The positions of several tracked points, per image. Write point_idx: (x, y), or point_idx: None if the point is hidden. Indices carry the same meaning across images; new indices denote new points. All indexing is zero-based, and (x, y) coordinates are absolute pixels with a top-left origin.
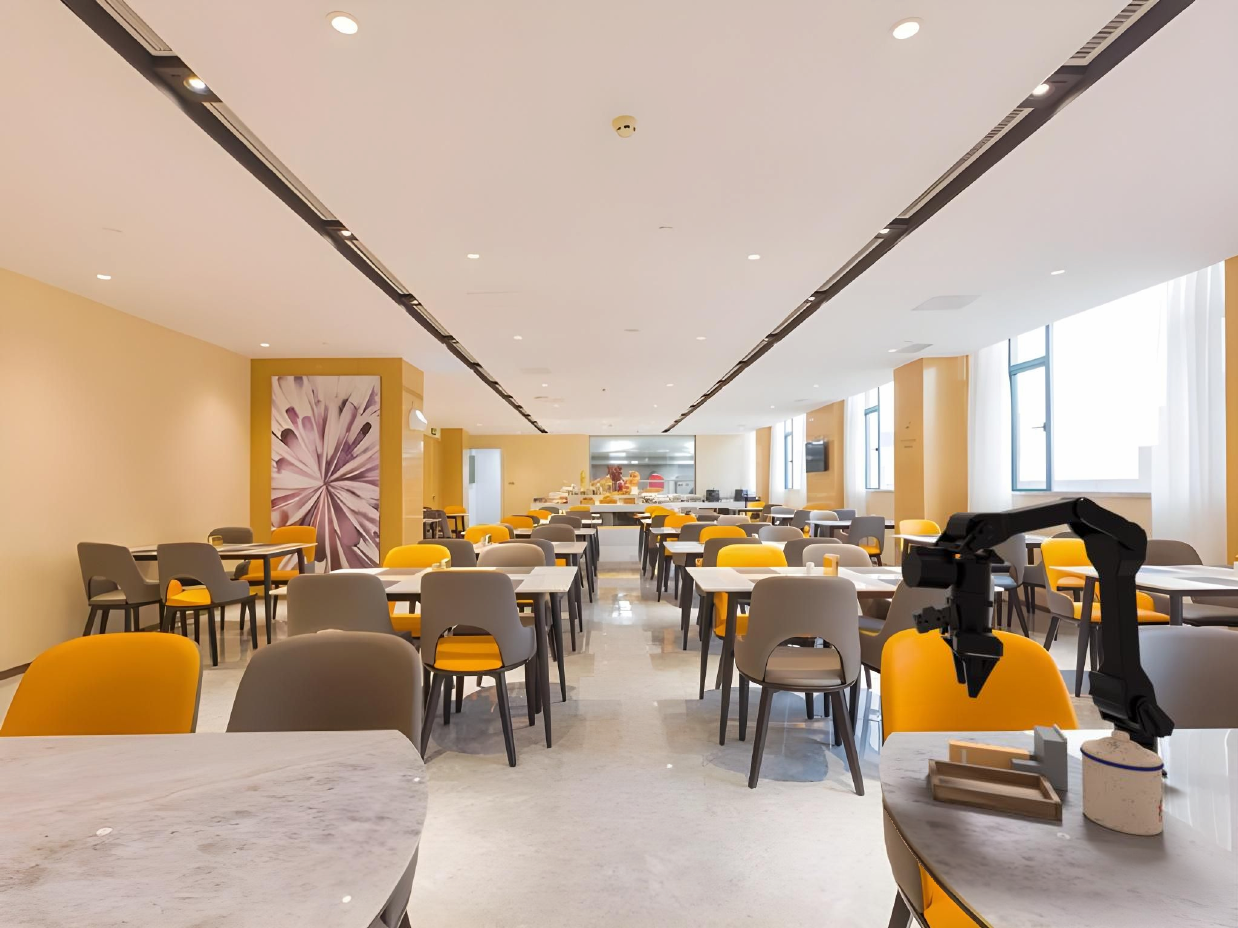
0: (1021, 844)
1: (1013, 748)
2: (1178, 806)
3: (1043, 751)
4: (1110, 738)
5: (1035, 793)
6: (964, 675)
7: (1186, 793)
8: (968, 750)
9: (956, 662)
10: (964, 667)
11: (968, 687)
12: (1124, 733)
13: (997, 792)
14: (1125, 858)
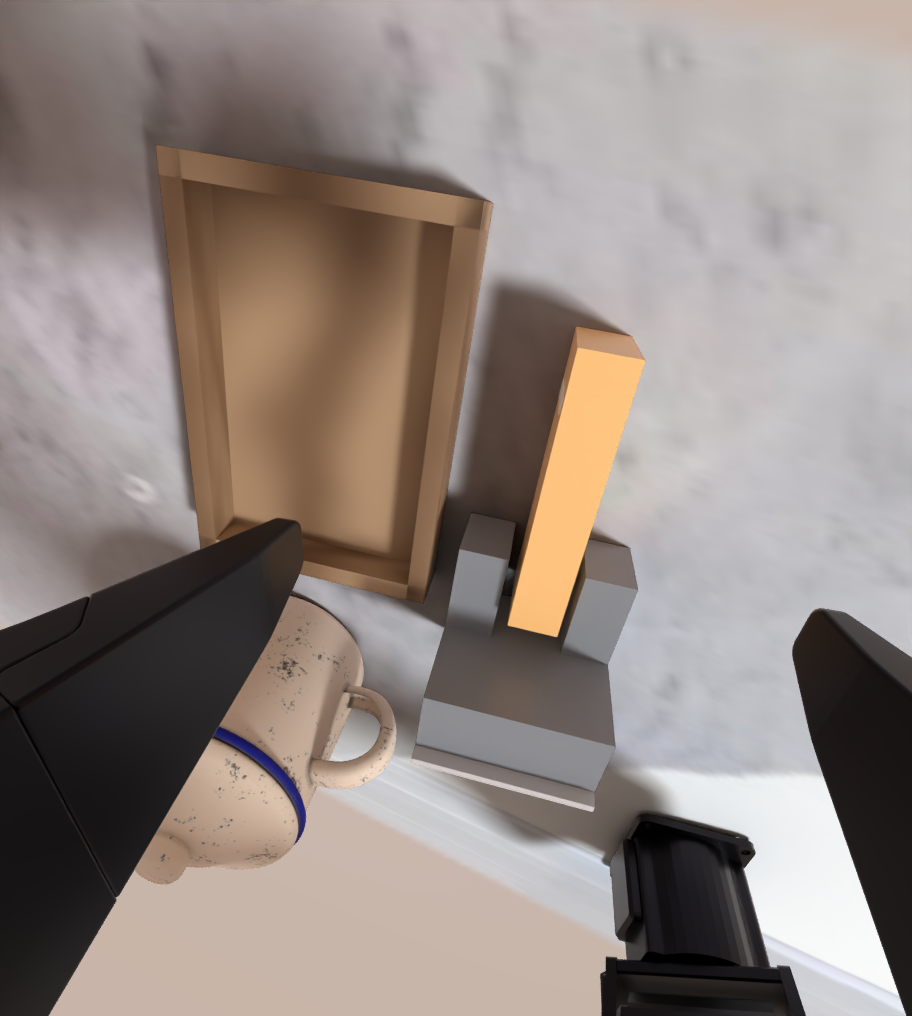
0: (21, 361)
1: (565, 600)
2: (425, 789)
3: (442, 662)
4: (171, 829)
5: (360, 532)
6: (829, 709)
7: (509, 841)
8: (557, 423)
9: None
10: (14, 658)
11: (206, 550)
12: (143, 873)
13: (195, 394)
14: (92, 563)
